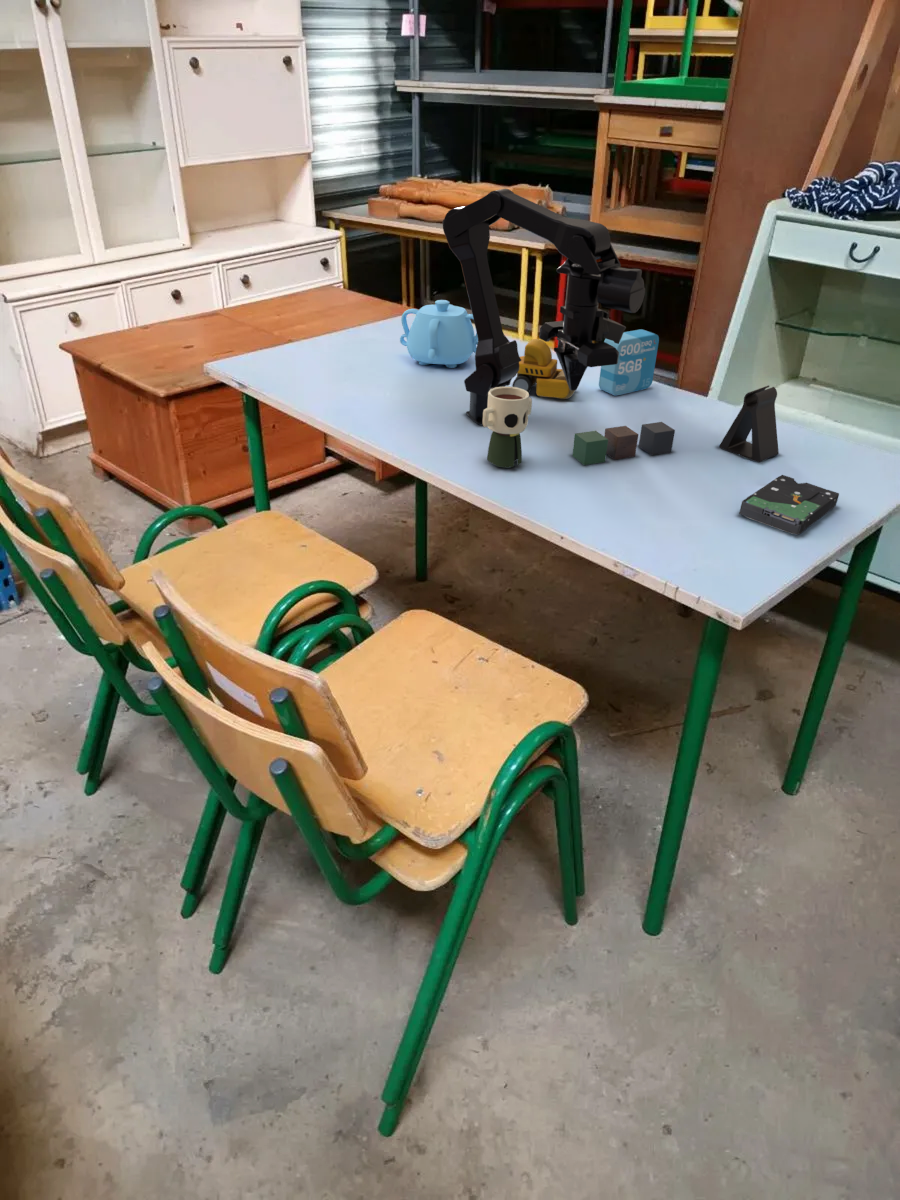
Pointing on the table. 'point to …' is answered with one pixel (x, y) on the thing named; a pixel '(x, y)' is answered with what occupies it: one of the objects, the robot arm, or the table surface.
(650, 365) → the data package
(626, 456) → the walnut block
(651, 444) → the charcoal block
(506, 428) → the character mug
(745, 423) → the black triangular stand
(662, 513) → the table surface
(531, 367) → the toy roller
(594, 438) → the green block
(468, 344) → the decorative pot
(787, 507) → the disk drive
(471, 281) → the robot arm
